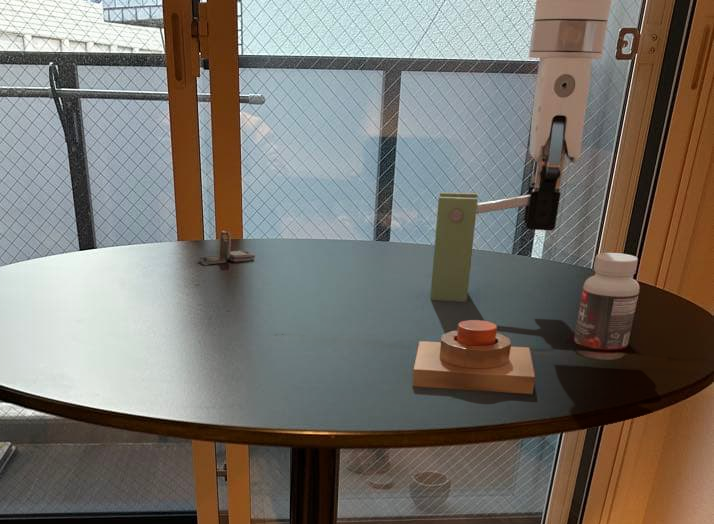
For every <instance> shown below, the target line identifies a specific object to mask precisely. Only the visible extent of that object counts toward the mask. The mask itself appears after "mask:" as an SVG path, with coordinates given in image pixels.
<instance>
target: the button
mask: <svg viewBox="0 0 714 524" xmlns="http://www.w3.org/2000/svg"><path fill="white" fill-rule="evenodd" d="M457 330H458V331H457ZM457 330H456V331H457V342H458V343H461V344H465V345H470V346H490V345H494V344H495V338H496V333H497V330H498V326H497V324H496V323H494V322H491V321H487V320H479V319H469V320H468V319H467V320H462V321H459V322H458V324H457Z"/></svg>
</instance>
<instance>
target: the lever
mask: <svg viewBox="0 0 714 524" xmlns="http://www.w3.org/2000/svg"><path fill="white" fill-rule="evenodd" d="M533 191H534V189H533ZM530 195H531V194H530ZM530 195H528V194H525V195H518V196H513V197H506V198H501V199H496V200H490V201H484V202H477V209H476V215H477V214H485V213H490V212H497V211H503V210H508V209H514V208H515V209H516V208H521V207H526V206H527V205H529V202H530Z"/></svg>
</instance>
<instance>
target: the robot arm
mask: <svg viewBox="0 0 714 524" xmlns="http://www.w3.org/2000/svg"><path fill="white" fill-rule="evenodd" d="M611 4H612V0H535V6H534V14H533V22H532V29H531V37H530V43H529V44H530V45H529V52H528V58H533V59H537V58H538V59H539V61H538V68H537V75H536V81H535V82H536V83H535V90H534V97H533V98H534V99H533V105H532V114H531V123H530V124H531V125H530V134H529V135H530V137H529V155H530V156H531V157H532V159H533V168H532V172H531V178H530V179H531V180H530V186H528V191H527V195H530V194H531V195H530V202H529V205H527V206H525V211H524V219H523V221H524V223H525V227H526V229H527V230H530V231H531V230H534V231H554V230H555V228H556V222H557V216H558V211H559V205H560V198H561V192H560V189H561V185H562V178H563V171H564V166H565V158H566V159H567V160H568V161H569V163H572V164H575V163H576V162H578V161H579V160H580V156H581V149H582V143H583V142H582V140H583V133H584V126H585V119H586V112H587V107H588V106H587V105H588V99H589V91H590V82H591V73H592V59H593V60H594V59H595V60H597V59H598V60H599V59H600V60H601V59H602V56H603V50H604V46H605V40H606V39H605V38H606V33H607V28H608V21H609V14H610V11H611V6H612V5H611ZM533 189H534V191H533Z"/></svg>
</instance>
